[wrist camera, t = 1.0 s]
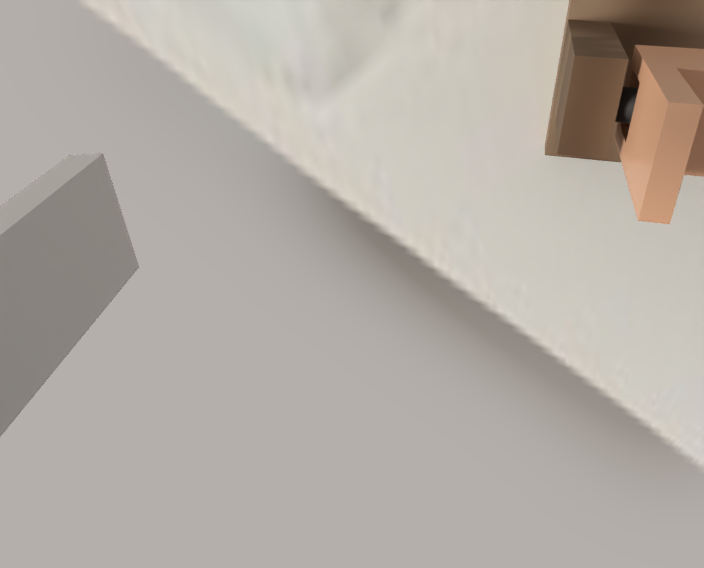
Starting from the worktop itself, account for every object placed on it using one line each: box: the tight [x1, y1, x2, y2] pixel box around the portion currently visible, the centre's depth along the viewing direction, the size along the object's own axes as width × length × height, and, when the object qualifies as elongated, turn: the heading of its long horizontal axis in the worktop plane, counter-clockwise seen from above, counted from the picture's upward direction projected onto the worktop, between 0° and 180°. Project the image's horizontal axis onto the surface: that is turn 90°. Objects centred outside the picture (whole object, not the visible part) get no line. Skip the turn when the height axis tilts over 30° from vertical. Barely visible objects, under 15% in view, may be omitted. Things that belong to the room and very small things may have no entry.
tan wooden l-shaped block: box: [615, 45, 704, 224], centre depth 25 cm, size 4×4×9 cm
